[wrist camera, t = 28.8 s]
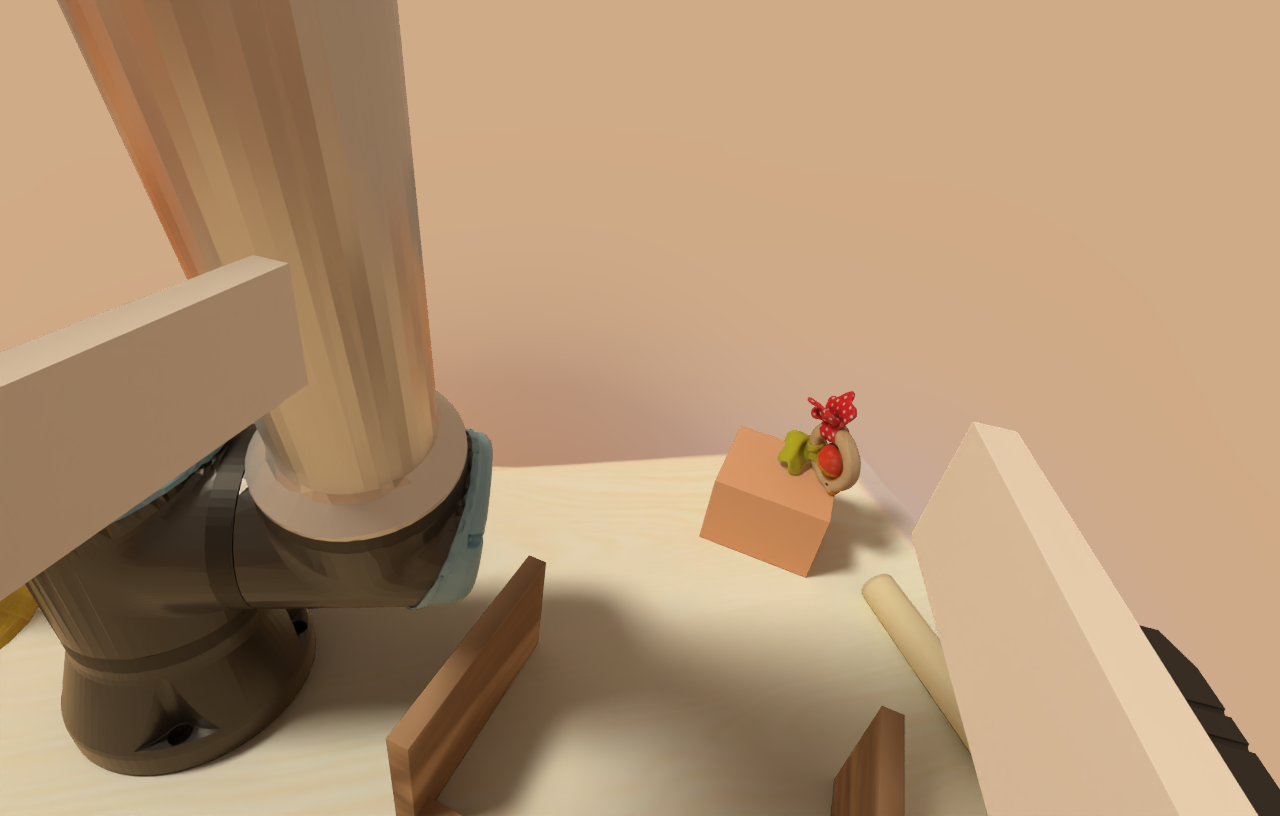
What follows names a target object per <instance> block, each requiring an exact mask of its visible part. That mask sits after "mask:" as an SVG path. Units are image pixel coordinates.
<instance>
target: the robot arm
mask: <svg viewBox="0 0 1280 816" xmlns="http://www.w3.org/2000/svg"><path fill="white" fill-rule="evenodd" d="M57 1H58V3H59V6H60V8H61V10H62V12H63V14H64V16H65V18H66V21H67V23H68V25H69V27H70V29H71V31H72V33H73V36H74V38H75V40H76V42H77V44H78V46H79V48H80V51H81V53H82V54H83V57H84V59H85V61H86V63H87V66H88V68H89V70H90V72H91V74H92V76H93V78H94V81H95V83H96V85H97V87H98V89H99V91H100V93H101V95H102V98H103V100H104V102H105V104H106V106H107V108H108V110H109V113H110V115H111V117H112V119H113V121H114V123H115V125H116V128H117V130H118V132H119V134H120V136H121V138H122V140H123V143H124V145H125V147H126V149H127V151H128V153H129V155H130V158H131V160H132V162H133V164H134V166H135V168H136V170H137V173H138V175H139V177H140V179H141V181H142V183H143V185H144V188H145V189H146V192H147V194H148V196H149V198H150V200H151V203H152V205H153V207H154V209H155V211H156V213H157V215H158V218H159V219H160V222H161V224H162V226H163V228H164V230H165V232H166V235H167V237H168V239H169V241H170V243H171V245H172V247H173V250H174V252H175V254H176V256H177V258H178V260H179V263H180V265H181V267H182V269H183V271H184V273H185V275H186V278H187V280H186V281H184V282H181V283H178V284H176V285H173V286H171V287H168V288H165V289H163V290H160V291H158V292H155V293H152V294H150V295H147V296H145V297H142V298H139V299H137V300H134V301H132V302H129V303H127V304H124V305H121V306H119V307H116V308H114V309H111V310H108V311H106V312H103V313H100V314H98V315H95V316H93V317H90V318H87V319H85V320H82V321H80V322H77V323H74V324H72V325H69V326H67V327H64V328H61V329H59V330H56V331H54V332H51V333H48V334H46V335H43V336H41V337H38V338H35V339H33V340H30V341H28V342H25V343H23V344H20V345H17V346H15V347H12V348H10V349H7V350H4V351H2V352H0V601H1V600H3V599H4V598H6V597H7V596H8V595H10V594H11V593H13V592H14V591H15V590H17V589H18V588H20V587H21V586H23V585H24V584H25V585H26V587H27V588H28V590H29V592H30V593H31V595H32V596H33V598H34V600H35V601H36V603H37V604H38V606H39V607H40V609H41V611H42V612H43V614H44V615H45V617H46V619H47V620H48V622H49V623H50V625H51V627H52V628H53V630H54V631H55V633H56V635H57V636H58V638H59V639H60V641H61V643H62V645H63V646H64V648H65V650H66V651H65V662H64V674H63V689H62V698H61V710H62V716H63V720H64V723H65V726H66V728H67V730H68V732H69V734H70V735H71V737H72V739H73V740H74V742H75V743H76V745H77V746H78V748H79V749H80V751H81V752H82V753H83V754H84V755H85V756H86V757H87V758H88V759H89V760H90V761H92V762H93V763H94V764H96V765H98V766H100V767H102V768H104V769H107V770H110V771H113V772H117V773H122V774H129V775H156V774H164V773H170V772H175V771H179V770H183V769H187V768H190V767H194V766H197V765H200V764H203V763H205V762H208V761H210V760H213V759H215V758H217V757H219V756H221V755H223V754H225V753H227V752H229V751H231V750H233V749H235V748H236V747H238V746H240V745H242V744H243V743H245V742H246V741H248V740H249V739H251V738H252V737H254V736H255V735H256V734H258V733H259V732H260V731H262V730H263V729H264V728H266V727H267V726H268V725H269V724H270V723H271V722H272V721H274V720H275V719H276V718H277V717H278V716H279V715H280V714H281V713H282V712H283V711H284V710H285V709H286V707H287V706H288V705H289V704H290V703H291V702H292V700H293V699H294V698H295V696H296V695H297V694H298V692H299V691H300V689H301V687H302V686H303V684H304V682H305V680H306V678H307V676H308V674H309V672H310V669H311V667H312V663H313V660H314V655H315V634H314V629H313V625H312V620H311V616H310V613H309V611H308V608H360V607H406V608H408V609H414V610H418V609H419V608H420V609H421V608H423V607H425V606H429V605H445V604H453V603H456V602H459V601H461V600H462V599H464V598H465V597H466V596H467V595H468V594H469V593H470V592H471V590H472V588H473V586H474V584H475V581H476V577H477V573H478V569H479V564H480V559H481V553H482V547H483V537H482V536H483V534H484V531H485V525H486V521H487V514H488V506H489V497H490V487H491V476H492V459H493V458H492V457H493V453H492V451H493V450H492V444H491V440H490V439H489V438H488V437H487V435H485V434H483V433H478V432H474V431H473V430H472V429H465V427H464V423H463V421H462V419H461V417H460V415H459V413H458V412H457V411H456V409H455V408H454V406H453V405H452V404H451V403H450V402H449V401H448V400H447V399H446V398H445V397H444V396H443V395H441V394H440V393H439V392H438V391H436V390H435V381H434V371H433V361H432V351H431V341H430V330H429V320H428V310H427V300H426V290H425V280H424V271H423V260H422V250H421V239H420V229H419V219H418V209H417V198H416V188H415V178H414V168H413V158H412V148H411V137H410V127H409V117H408V108H407V98H406V86H405V77H404V66H403V56H402V46H401V36H400V25H399V15H398V5H397V0H57ZM911 536H912V540H913V544H914V547H915V551H916V554H917V558H918V562H919V565H920V569H921V573H922V576H923V580H924V584H925V587H926V591H927V595H928V598H929V602H930V606H931V609H932V613H933V617H934V620H935V624H936V628H937V631H938V635H939V638H940V642H941V646H942V649H943V653H944V657H945V660H946V664H947V668H948V671H949V675H950V679H951V682H952V686H953V690H954V693H955V697H956V701H957V704H958V708H959V712H960V715H961V719H962V722H963V726H964V730H965V733H966V737H967V741H968V744H969V748H970V752H971V755H972V759H973V763H974V766H975V770H976V774H977V777H978V781H979V785H980V788H981V792H982V796H983V799H984V803H985V806H986V810H987V814H988V816H1280V789H1279V788H1278V786H1277V785H1276V783H1275V782H1274V780H1273V779H1272V777H1271V776H1270V774H1269V773H1268V772H1267V770H1266V768H1265V767H1264V766H1263V764H1262V763H1261V761H1260V760H1259V758H1258V757H1257V755H1256V754H1255V753H1252V752H1249V751H1248V745H1249V743H1248V742H1247V740H1246V739H1245V737H1244V736H1243V735H1242V733H1241V732H1240V731H1239V729H1238V727H1237V726H1236V724H1235V723H1234V721H1233V720H1232V718H1231V717H1227V716H1225V714H1224V710H1225V708H1224V707H1223V705H1222V704H1221V702H1220V701H1219V699H1218V698H1217V696H1216V695H1215V693H1214V692H1213V690H1212V689H1211V688H1210V686H1209V685H1208V683H1207V682H1206V680H1205V679H1204V677H1203V676H1202V674H1201V673H1200V671H1199V670H1198V668H1197V667H1195V665H1193V663H1191V662H1190V661H1189V660H1188V659H1187V658H1186V657H1185V656H1184V655H1183V654H1182V653H1181V652H1180V651H1179V650H1178V649H1177V648H1176V647H1175V646H1174V645H1173V644H1172V643H1171V642H1170V641H1169V640H1168V639H1167V638H1166V637H1164V635H1163V634H1161V633H1160V632H1159V631H1158V630H1155V629H1151V628H1147V627H1144V626H1139V625H1138V623H1137V622H1136V620H1135V619H1134V617H1133V615H1132V614H1131V612H1130V611H1129V609H1128V607H1127V606H1126V604H1125V603H1124V601H1123V599H1122V598H1121V596H1120V595H1119V593H1118V591H1117V590H1116V588H1115V587H1114V585H1113V583H1112V582H1111V580H1110V579H1109V577H1108V576H1107V574H1106V572H1105V571H1104V569H1103V568H1102V566H1101V564H1100V563H1099V561H1098V560H1097V558H1096V556H1095V555H1094V553H1093V552H1092V550H1091V548H1090V547H1089V545H1088V544H1087V542H1086V541H1085V539H1084V537H1083V536H1082V534H1081V533H1080V531H1079V529H1078V528H1077V526H1076V525H1075V523H1074V521H1073V520H1072V518H1071V517H1070V515H1069V514H1068V512H1067V510H1066V509H1065V507H1064V505H1063V504H1062V502H1061V501H1060V499H1059V498H1058V496H1057V494H1056V493H1055V491H1054V490H1053V488H1052V486H1051V485H1050V483H1049V482H1048V480H1047V478H1046V477H1045V475H1044V474H1043V472H1042V471H1041V469H1040V467H1039V466H1038V464H1037V462H1036V461H1035V459H1034V458H1033V456H1032V455H1031V453H1030V451H1029V450H1028V448H1027V447H1026V445H1025V443H1024V442H1023V441H1022V439H1021V437H1020V436H1019V434H1018V432H1017V431H1012V430H1008V429H1004V428H999V427H995V426H991V425H986V424H982V423H978V422H972V423H971V425H970V427H969V429H968V431H967V433H966V434H965V436H964V438H963V440H962V442H961V444H960V446H959V447H958V449H957V451H956V453H955V455H954V456H953V458H952V460H951V462H950V464H949V465H948V467H947V469H946V471H945V473H944V475H943V476H942V478H941V480H940V482H939V484H938V486H937V487H936V489H935V491H934V493H933V495H932V497H931V498H930V501H929V502H928V504H927V506H926V508H925V509H924V511H923V513H922V515H921V517H920V519H919V520H918V522H917V524H916V526H915V528H914V530H913V531H912V533H911Z"/></svg>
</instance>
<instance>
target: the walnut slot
mask: <svg viewBox="0 0 1280 816" xmlns="http://www.w3.org/2000/svg"><path fill="white" fill-rule="evenodd" d="M545 567H546V562H544V561H541V560H539V559H536V558H534V557H532V556H528V558H527V559H526V560H525V561H524V563H523V564H522V565H521V567H520V568H519V569H518V570H517V572H516V573H515V574H514V575H513V577H512V578H511V579H510V581H509V582H508V583H507V584H506V586H505V587H504V588H503V590H502V591H501V592H500V593H499V595H498V596H497V597H496V598H495V600H494V601H493V602H492V604H491V605H490V606H489V607H488V609H487V610H486V611H485V613H484V614H483V615H482V616H481V618H480V619H479V620H478V621H477V623H476V624H475V625H474V627H473V628H472V629H471V630H470V632H469V633H468V634H467V636H466V637H465V638H464V639H463V641H462V642H461V643H460V644H459V646H458V647H457V648H456V650H455V651H454V652H453V653H452V655H451V656H450V657H449V659H448V660H447V661H446V662H445V664H444V665H443V666H442V667H441V669H440V670H439V671H438V673H437V674H436V675H435V676H434V678H433V679H432V680H431V681H430V683H429V684H428V685H427V687H426V688H425V689H424V690H423V692H422V693H421V694H420V696H419V697H418V698H417V699H416V701H415V702H414V703H413V704H412V706H411V707H410V708H409V710H408V711H407V712H406V713H405V715H404V716H403V717H402V719H401V720H400V721H399V722H398V724H397V725H396V726H395V727H394V729H393V730H392V731H391V733H390V734H389V735H388V736H387V738H386V743H387V750H388V758H389V765H390V772H391V780H392V787H393V795H394V802H395V810H396V816H463V815H461V814H459V813H457V812H455V811H454V810H452V809H450V808H448V807H446V806H445V805H443V804H441V803H439V802H437V801H436V799H437V798H438V796H439V794H440V793H441V791H442V790H443V788H444V787H445V785H446V784H447V782H448V781H449V779H450V777H451V776H452V774H453V773H454V771H455V770H456V768H457V767H458V765H459V764H460V762H461V760H462V759H463V757H464V756H465V754H466V753H467V751H468V750H469V748H470V747H471V745H472V743H473V742H474V740H475V739H476V737H477V736H478V734H479V733H480V731H481V730H482V728H483V726H484V725H485V723H486V722H487V720H488V719H489V717H490V716H491V714H492V713H493V711H494V709H495V708H496V706H497V705H498V703H499V702H500V700H501V699H502V697H503V696H504V694H505V693H506V691H507V689H508V688H509V686H510V685H511V683H512V682H513V680H514V679H515V677H516V676H517V674H518V672H519V671H520V669H521V668H522V666H523V665H524V663H525V662H526V660H527V659H528V657H529V655H530V654H531V652H532V651H533V649H534V648H535V646H536V645H537V643H538V637H539V627H540V617H541V607H542V597H543V587H544V577H545ZM831 816H904V715H903V714H900V713H898V712H896V711H893V710H891V709H888V708H886V707H884V706H882V707H881V708H880V710H879V711H878V713H877V714H876V716H875V717H874V719H873V721H872V722H871V724H870V725H869V727H868V728H867V730H866V731H865V733H864V734H863V736H862V738H861V739H860V741H859V742H858V744H857V745H856V747H855V748H854V750H853V751H852V753H851V755H850V756H849V758H848V759H847V761H846V762H845V764H844V765H843V767H842V768H841V770H840V772H839V773H838V775H837V776H836V778H835V779H834V788H833V798H832V808H831Z"/></svg>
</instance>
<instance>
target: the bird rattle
mask: <svg viewBox="0 0 1280 816" xmlns="http://www.w3.org/2000/svg"><path fill="white" fill-rule="evenodd" d="M854 397H855V393H854V392H853V391H852V392H847V393H845V394H843V395H841V396H839V397H836V396H832V397H830V398H829V399H828V402H827V404H826V408H824V407H823V406H822V405H821V404H820V403H818V402H817V401H815V400H814V399H812V398H810V397H809V398H808V401H809V402H810V403H811V404H813V405H815V407H814V408H813V409H812V411H811V415H812V417H813V418H815V419H820V420H823V422H822V423H821V424H819V425H818V426H817V427H816V428H815V429H814V430H813V432H812V433H811V435H807V434H805V433H803V432H801V431H797V430H792V431H789V432H788V433H787V436H786V438H785V443H786V444H785V446H784V447H783V449H782V450H781V451H780V453H779V455H778V461H780V462H786V463H787V464H788V472H789V474H791V475H799V474H800V472H801V471H802V469H803V467H804V465H805V463H806V462H807V461H810V464H811V466H812V467H813V469H814V471H815V473H816V475H817V477H818V479H819V480H820V481H821V483H822V484H823V485H824V487H825V490H826V492H827V493H828V494H829V495H836V494H838V493H839V492H840V491H844V490H847V489H849V488H851V487H852V486H853V485H854V484H855V483H856V482H857V480H858V478H859V474H860V467H861V462H860V455H859V452H858V448H857V446H856V443H855V441H854V439H853V438H852V436H851V435H850V433H849V430H848V428H847V427H846V426H845V425H846V424H848V423H849V422H851V421H852V420H853V419H855V418H856V417H857V410H856V408H855V407H854V406H853V405H852V401H853V400H854ZM826 440H828V441H829V442H832V443H829V444H828V443H827V441H826Z"/></svg>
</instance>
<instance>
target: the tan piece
mask: <svg viewBox="0 0 1280 816" xmlns="http://www.w3.org/2000/svg"><path fill="white" fill-rule="evenodd" d="M862 595H863V596H864V598H865V599H866V601H867V602H868V604H869V605H870V607H871V608H872V610H873V611H874V613H875V614H876V616H877V617H878V618H879V620H880V621H881V623H882V624H883V626H884V627H885V629H886V630H887V632H888V633H889V635H890V636H891V638H892V639H893V640H894V642H895V643H896V645H897V646H898V648H899V649H900V651H901V652H902V654H903V655H904V657H905V658H906V660H907V661H908V662H909V664H910V665H911V667H912V668H913V670H914V671H915V673H916V674H917V676H918V677H919V679H920V680H921V681H922V683H923V684H924V686H925V687H926V689H927V690H928V692H929V693H930V695H931V696H932V698H933V699H934V701H935V702H936V703H937V705H938V706H939V708H940V709H941V711H942V712H943V714H944V715H945V717H946V718H947V720H948V721H949V723H950V724H951V725H952V727H953V728H954V730H955V731H956V733H957V734H958V736H959V737H960V739H961V740H962V742H963V743H964V745H965V746H966V747H967V749H968V750H969V752H970V748H969V744H968V741H967V737H966V733H965V730H964V726H963V722H962V719H961V715H960V712H959V708H958V704H957V701H956V697H955V693H954V690H953V686H952V682H951V679H950V675H949V671H948V668H947V664H946V660H945V657H944V653H943V649H942V646H941V642H940V639H939V638H938V637H937V636H936V634H935V633H934V632H933V630H932V629H931V628H930V626H929V625H928V624H927V622H926V621H925V620H924V618H923V617H922V616H921V614H920V613H919V612H918V611H917V609H916V608H915V607H914V605H913V604H912V603H911V601H910V600H909V599H908V597H907V596H906V595H905V593H904V592H903V591H902V590H901V588H900V587H899V586H898V584H897V583H896V582H895V580H894V579H893V578H892V577H891V576H890V575H888V574H881V575H877V576H875V577H873V578H871V579H870V580H869V581H867V582H866V583H865V585H864V586H863V588H862ZM970 753H971V752H970Z"/></svg>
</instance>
